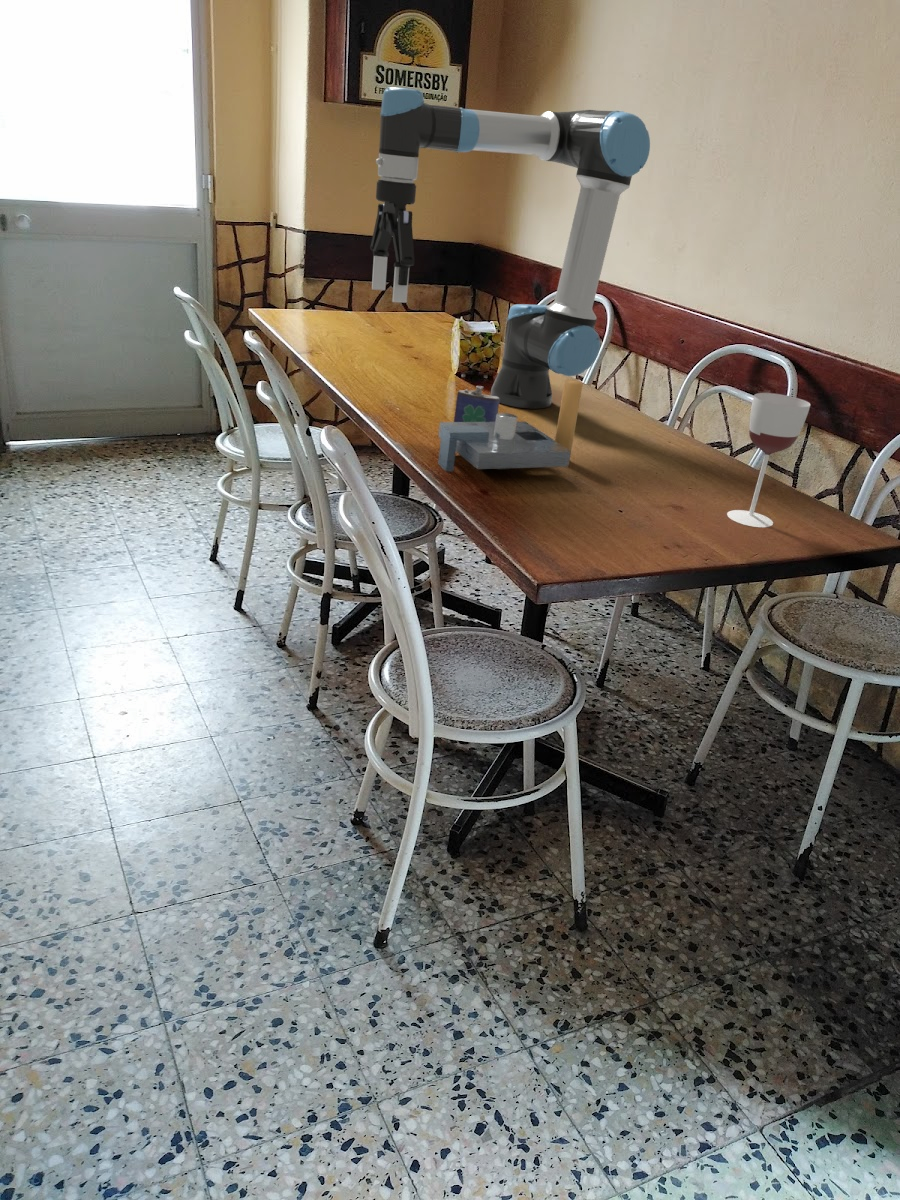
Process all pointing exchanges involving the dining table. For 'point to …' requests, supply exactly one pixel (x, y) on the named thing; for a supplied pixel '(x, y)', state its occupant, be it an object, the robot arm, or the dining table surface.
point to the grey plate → (499, 445)
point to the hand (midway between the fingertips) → (388, 295)
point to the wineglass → (771, 440)
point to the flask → (476, 406)
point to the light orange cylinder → (568, 413)
